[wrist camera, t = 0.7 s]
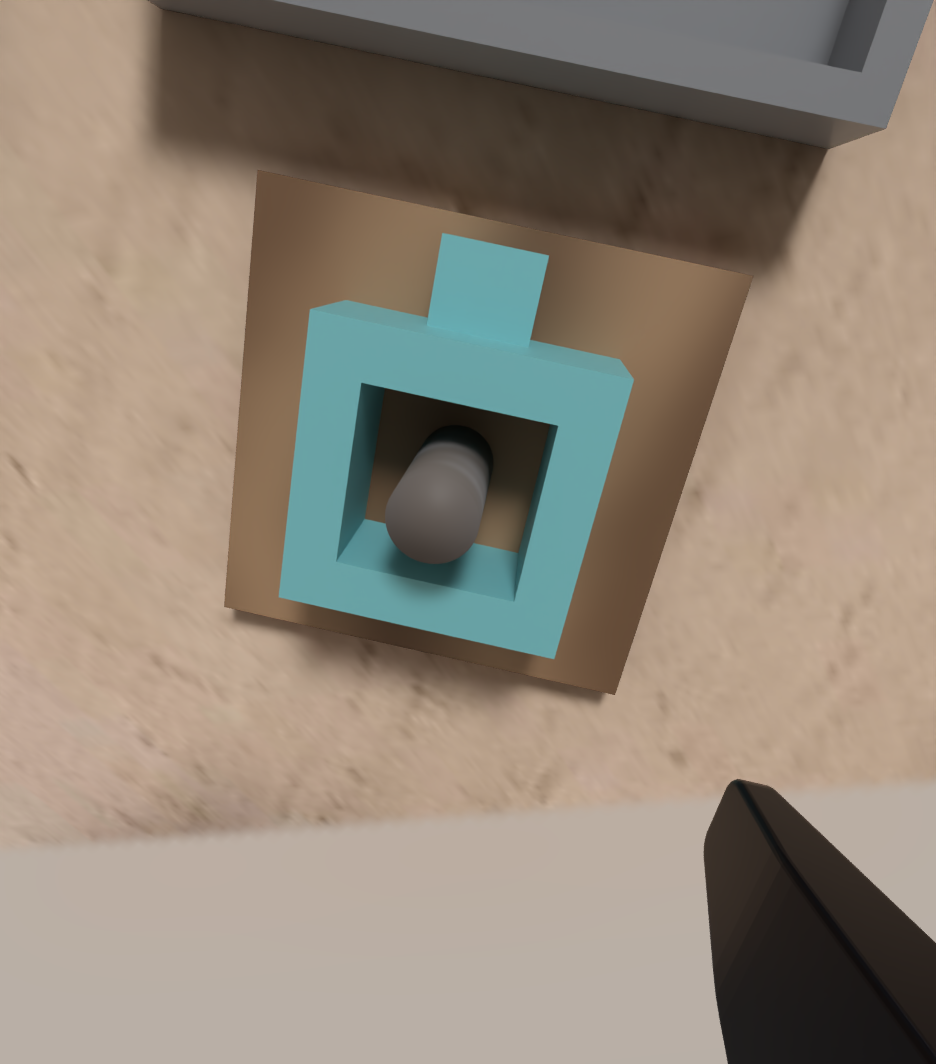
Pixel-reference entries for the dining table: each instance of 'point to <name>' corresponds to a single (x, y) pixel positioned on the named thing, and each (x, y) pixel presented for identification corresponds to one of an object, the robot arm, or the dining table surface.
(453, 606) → the collar
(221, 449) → the dining table surface
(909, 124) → the dining table surface
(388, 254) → the peg base
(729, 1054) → the robot arm
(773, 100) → the tray
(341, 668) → the dining table surface
